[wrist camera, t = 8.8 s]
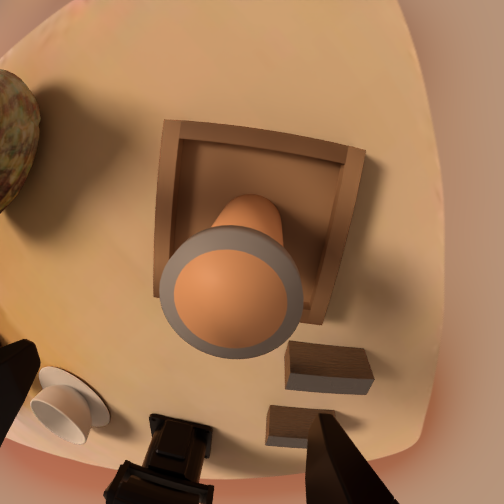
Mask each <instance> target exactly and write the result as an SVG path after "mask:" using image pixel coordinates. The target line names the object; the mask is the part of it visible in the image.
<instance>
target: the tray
mask: <svg viewBox="0 0 504 504" xmlns="http://www.w3.org/2000/svg"><path fill="white" fill-rule="evenodd" d="M365 153H366V150H363V149H359V148H355V147H351V146H346V145H342V144H338V143H333V142H329V141H324V140H319V139H314V138H309V137H304V136H299V135H294V134H288V133H282V132H276V131H270V130H263V129H257V128H249V127H242V126H234V125H226V124H216V123H206V122H195V121H182V120H166V119H164V124H163V132H162V140H161V149H160V159H159V170H158V182H157V195H156V211H155V232H154V274H153V294H154V297H156V298H160V293H159V288H160V280H161V276H162V273H163V270H164V268H165V266H166V264H167V263H168V261H169V259H170V258H171V257H172V256H173V254H174V253H175V252H176V251H177V250H178V248H179V247H180V246H181V245H182V244H183V243H184V242H185V241H186V240H187V239H188V238H190V237H191V236H193V235H194V234H196V233H198V232H200V231H202V230H205V229H208V228H211V226H212V225H213V224H214V222H215V221H216V219H217V218H218V216H219V215H220V213H221V212H222V211H223V209H224V208H225V206H226V205H227V204H228V203H229V202H230V201H231V200H232V199H234V198H236V197H238V196H241V195H245V194H256V195H260V196H263V197H265V198H267V199H268V200H270V201H271V202H272V203H273V204H274V205H275V206H276V208H277V209H278V211H279V213H280V217H281V222H282V234H283V246H284V248H285V249H286V251H287V252H288V253H289V254H290V255H291V257H292V259H293V260H294V262H295V264H296V266H297V268H298V271H299V274H300V278H301V284H302V290H303V298H304V301H303V311H302V316H301V319H300V321H299V322H300V323H308V324H315V325H322V323H323V320H324V317H325V314H326V311H327V307H328V304H329V301H330V297H331V294H332V291H333V287H334V284H335V280H336V277H337V273H338V270H339V266H340V262H341V259H342V255H343V251H344V247H345V243H346V239H347V235H348V231H349V227H350V223H351V219H352V215H353V211H354V206H355V202H356V197H357V193H358V188H359V183H360V179H361V174H362V169H363V164H364V158H365Z"/></svg>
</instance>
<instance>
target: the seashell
mask: <svg viewBox="0 0 504 504" xmlns="http://www.w3.org/2000/svg"><path fill="white" fill-rule="evenodd" d="M40 120H41V118H40V111H39V106H38V103H37V101H36V99H35V97H34V95H33V94H32V93H31V91H30V90H29V88H28V87H27V86H26V84H25V83H24V82H23V81H22V80H21V79H20V78H19V77H17V76H16V75H15V74H13V73H11V72H9V71H6V70H2V69H0V213H1V212H2V211H3V210H4V209H5V208H6V207H7V205H8V204H9V203H10V202H11V201H12V200H13V199H14V198H15V197H16V196H17V194H18V193H19V191H20V189H21V188H22V186H23V184H24V182H25V181H26V178H27V175H28V173H29V171H30V169H31V167H32V165H33V160H34V158H35V155H36V151H37V148H38V140H39V134H40V131H39V125H38V124H39V122H40Z"/></svg>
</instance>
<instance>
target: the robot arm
mask: <svg viewBox="0 0 504 504" xmlns="http://www.w3.org/2000/svg"><path fill="white" fill-rule="evenodd" d="M40 364H41V362H40V358H39V355H38V351H37V348H36V345H35V344H34V342H32V341H30V340H27V339H22V340H19V341H17V342H14V343H12V344H9V345H6V346H4V347H1V348H0V447H1V445H2V443H3V441H4V438H5V437H6V435H7V433H8V431H9V429H10V427H11V425H12V423H13V421H14V419H15V417H16V416H17V414H18V412H19V410H20V408H21V406H22V405H23V403H24V401H25V399H26V396H27V394H28V392H29V390H30V387H31V385H32V383H33V381H34V379H35V376H36V374H37V372H38V370H39V368H40ZM149 422H150V428H151V434H152V440H151V443H150V445H149V448H148V451H147V454H146V456H145V459H144V462H143V465H142V466H139V465H136V464H134V463H131V462H130V461H128V460H125V462H124V464H123V465H120V467H119V469H118V472H117V474H116V476H115V478H114V479H113V481H112V482H111V483H110V485H109V486H108V487H107V489H106V490H105V491H104V494H103V496H104V497H105V499H106V504H199V503H201V504H212V501H213V492H214V486H213V485H204V484H200V483H199V479H200V475H201V470H202V466H203V461H204V458H206V459H207V458H209V457H210V450H211V441H212V431H213V429H212V428H211V427H208V426H203V425H198V424H193V423H189V422H184V421H180V420H176V419H171V418H167V417H163V416H160V415H156V414H150V417H149ZM305 475H306V476H305V484H306V502H307V504H399V503H398V501H397V500H396V499H394V496H393V495H392V494H391V493H390V491H389V490H388V489H387V487H386V486H385V485H384V483H383V482H382V481H381V479H380V478H379V477H378V475H377V474H376V473H375V471H374V470H373V469H372V467H371V466H370V465H369V464H368V462H367V461H366V459H365V458H364V457H363V455H362V454H361V453H360V451H359V450H358V449H357V447H356V446H355V445H354V443H353V442H352V440H351V439H350V438H349V436H348V435H347V434H346V432H345V431H344V430H343V428H342V427H341V425H340V424H339V423H338V421H337V420H336V418H335V417H334V416H333V415H332V414H331V413H318V414H317V415H316V416H315V418H314V420H313V422H312V424H311V426H310V428H309V431H308V442H307V459H306V474H305Z"/></svg>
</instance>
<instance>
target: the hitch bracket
mask: <svg viewBox="0 0 504 504" xmlns="http://www.w3.org/2000/svg"><path fill="white" fill-rule="evenodd" d="M284 361H285V389H288V390H297V391H308V392H320V393H335V394H355V395H366V394H367V393H368V391H369V389H370V387H371V385H372V383H373V381H374V380H375V379H374V376H373V373H372V370H371V367H370V364H369V362H368V359H367V356H366V353H365V350H364V349H361V348H350V347H339V346H329V345H320V344H312V343H303V342H296V341H289V342H288V346H287V349H286V353H285V356H284ZM318 413H331V414H332V415H333V416H334V417H335V411H334V410H318V409H304V408H292V407H282V406H273V405H270V407H269V410H268V413H267V420H266V439H265V445H267V446H277V447H289V448H306V449H307V442H308V431H309V428H310V426H311V424H312V422H313V420H314V418H315V416H316V415H317V414H318Z"/></svg>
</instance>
